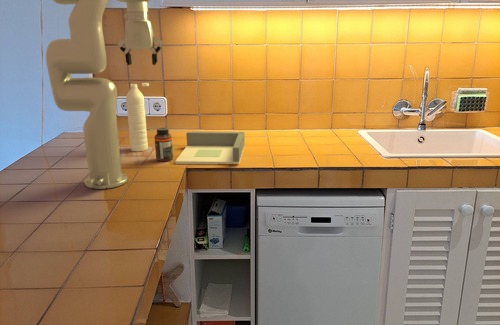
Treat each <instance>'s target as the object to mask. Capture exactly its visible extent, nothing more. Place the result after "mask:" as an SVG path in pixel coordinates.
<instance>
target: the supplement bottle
mask: <svg viewBox="0 0 500 325" xmlns="http://www.w3.org/2000/svg"><path fill="white" fill-rule="evenodd" d="M169 131H170V130H169V128H168V127H166V126H165V127H157V128H156V134H155V135H154V147H155V148H154V149H155V159H156V161H158V162H170V161H172V160H173V158H174V149H173V136H172V134H171V133H170V132H169Z"/></svg>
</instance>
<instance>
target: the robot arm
mask: <svg viewBox="0 0 500 325" xmlns="http://www.w3.org/2000/svg"><path fill="white" fill-rule="evenodd" d="M52 1H53V2H54V3H56V4H58V5H65V6H66V5H74V6H73V8H72V10H71V12H70V14H69V17H68V27H69V34H70V38H57V39H53V40H52V41H50V42H49V44H48V45H47V46H46V52H45V60H46V67H47V73H48V78H49V82H50V87H51V91H52V96H53V101H54V103H55V105H56V106H57V108H59V110H62V111H65V112H89V115H88V117H87V118H86V120H85V121H84V123H83V127H82V128H83V137H84V145H85V154H86V159H87V160H86V161H87V169H88V176H87V177H86V178H85V179H84V182H83V183H84V186H85V187H87V188H89V189H93V188H94V190H95V189H96V190H105V189H106V188H107V189H111V188H116V187H119V186H122V185H125V184H126V183H127V182H128V180H129V179H128V178H129V177H128V175H127V174H126V173H123V172H122V161H121V155H120V154H121V153H120V142H119V131H118V123H117V122H118V120H117V105H118V104H117V103H118V101H117V100H118V89H117V85H115V83H114V82H113V81H112V80H110V79H108V78H104V77H72V75H78V74H79V75H81V74H82V75H87V74H89V75H91V74H100V73H102V72H104V71H105V70H106V69H107V64H108V63H107V52H106V45H105V44H106V43H105V38H104V31H103V16H104V12H105V10H106V6H107V5H108V2H109V0H52ZM116 1H117V2H121V3H126V13H124V14H123V18H124V19H127V21H125V24H124V25H125V26H124V37H123V38H122V39H120V40H118V41H117V46H118V47H119V49H120V51H122V52H123V54H124V56H125V62H126V64H127V66H131V65H132V64H133V63H132V54H131V51H132V50H150V51H151V52H152V54H151V60H152V61H151V62H152V63H151V64H152V65H153V66H155V65H157V63H158V53H159V52H160V51H161V49H162V47H163V45H164V41H163V40H161V39H159V38H157V37H156V36H154V30H153V25H152V22H151V20H150V19H149V18H150V17H149V16H150V15H149V6H148V4H149V3H148V2H151V1H152V0H116ZM156 43H157V44H158V45H157V47H156V46H155V44H156ZM124 45H125V46H124Z"/></svg>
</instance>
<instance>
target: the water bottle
mask: <svg viewBox="0 0 500 325" xmlns="http://www.w3.org/2000/svg"><path fill="white" fill-rule="evenodd" d="M141 86H142V87H149V86H150V83H149V82H142V83H141ZM138 87H139V86H138V84H137V83H130V89H129V91H128V92H127V94H126V96H125V101H126V111H127V122H128V132H129V134H128V136H129V144H130V145H129V146H130V151H132V152H139V153H140V152H144V151H147V150H149V143H148V133H147V119H146V118H147V117H146V108H145V97H144V94H143V93H142V92H141V91H140V89H139V88H138Z"/></svg>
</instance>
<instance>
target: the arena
mask: <svg viewBox="0 0 500 325" xmlns="http://www.w3.org/2000/svg"><path fill="white" fill-rule="evenodd" d="M244 150H245V132H244V131H187V132H186V146H185V148H184V149H183V150H182V151H181V153H180V154H179V155H178V157H177V158H176V159H175V161H174V163H175V165H218V164H239V165H240V163H241V161H242V157H241V156H243V154H242V153H244Z"/></svg>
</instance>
